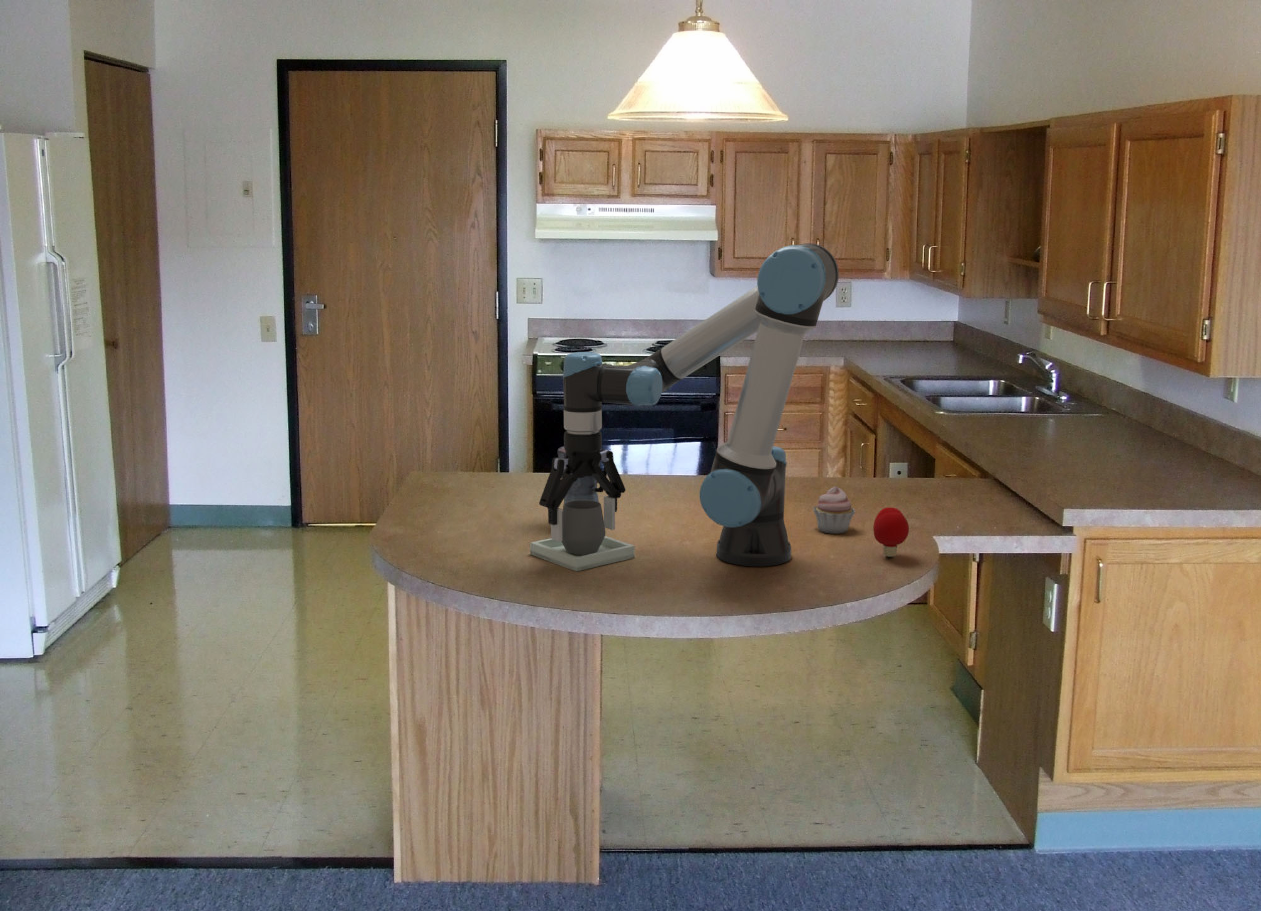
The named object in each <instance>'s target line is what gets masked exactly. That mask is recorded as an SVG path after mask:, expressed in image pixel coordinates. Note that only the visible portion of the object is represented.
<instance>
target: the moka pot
mask: <svg viewBox="0 0 1261 911" xmlns="http://www.w3.org/2000/svg"><path fill="white" fill-rule="evenodd" d="M602 450H603V449H601V450H600V452H601V451H602ZM557 456H558V457H557V458H558V459H565V456H566V451H565V449H564V446H561V447H559V448H558V449H557ZM601 464H602V461H600V463H599V466H600V467H601ZM566 468H567V467H566ZM566 468H565V469H566ZM565 469H564V471H565ZM602 470H603V472H604V474H605V476H606V477H607V478H608V475H607V473H606V471H605V468H604V467H603V468H602ZM563 473H564V472H563ZM570 475H572V474H571V473H570ZM562 477H563V476H562ZM598 484H599V483H598V482H597V481H596V479H595V478H594V477H593V476H585V477H583V478H578V479H577V480H576V481H575V482H574V483H573V484H572V486H571V488H570V489H569V491H568V493H567V494H566V496H565V498H564V499H563V504H564V503H565V502H568V501H572V500H592V501H596V502H599V501H600V500H599V494H598V493H603V492H604V490H603V488H602V487H601V486H600V485H599V486H598ZM599 503H600V502H599Z"/></svg>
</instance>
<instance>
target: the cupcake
mask: <svg viewBox="0 0 1261 911" xmlns="http://www.w3.org/2000/svg"><path fill="white" fill-rule="evenodd" d="M817 501H818V502H817V504H816V506H812V510H813V513H814V515H815V517H816V524H817V529H818V530H819V532H822V533H825V534H829V535H832V534H833V535H837V534H839V535H840V534H845V533H847V532H848V530H849V528H850V525H851V524H850V523H851V520H852V519H853V517H854V515H855V514H856V510H855V508H854V507H852V503H851V501H850V499H849V498H848V495H847V494H846V492H845V491H844V490H843V489H842V488H840V487H837V486H834V487H831V488H830V489H828V490H827V491H826V493H825V494H824V493H823V494H821V495H820V496H819V497H818V500H817Z"/></svg>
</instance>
